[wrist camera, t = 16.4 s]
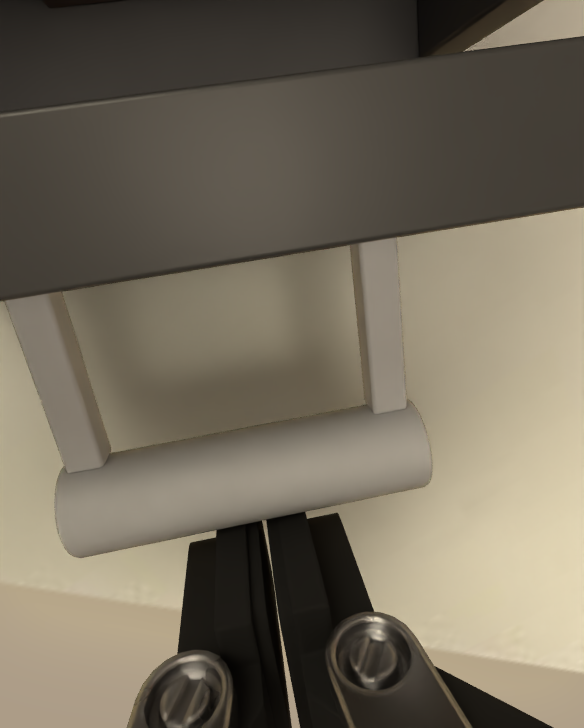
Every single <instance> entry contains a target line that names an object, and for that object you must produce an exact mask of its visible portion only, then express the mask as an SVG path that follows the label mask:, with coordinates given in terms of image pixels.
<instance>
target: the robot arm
mask: <svg viewBox="0 0 584 728" xmlns="http://www.w3.org/2000/svg"><path fill="white" fill-rule="evenodd" d="M266 521H267V529H268V537H269V545H270V553H271V561H272V569H273V576H272V570H271V565H270V560H269V554H268V549H267V544H266V539H265V534H264V529H263V523H262V521H257V522H253V523H248V524H243V525H238V526H233V527H228V528H224V529H219V530H217V534H216V538H211V539H206V540H201V541H196V542H191V543H190V545H189V551H188V560H187V569H186V579H185V588H184V597H183V607H182V616H181V626H180V635H179V644H178V654H177V655H175V656H173V657H171V658H169V659H167V660H166V661H164V662H163V663H162V664H161V665H160V666H158V668H156V669H155V670H154V671H153V672H152V673H151V674H150V676H149V677H148V678H147V679H146V681H145V682H144V683H143V685H142V687H141V689H140V692H139V693H138V696H137V698H136V700H135V703H134V706H133V710H132V712H131V716H130V719H129V722H128V725H127V728H292V726H291V718H290V711H289V702H288V694H287V687H286V679H285V671H284V662H283V655H282V646H281V639H280V630H279V622H278V614H279V620H280V626H281V631H282V636H283V641H284V646H285V652H286V656H287V662H288V667H289V671H290V677H291V682H292V687H293V692H294V697H295V703H296V708H297V713H298V718H299V723H300V728H553V727H551V726H549V725H547V724H545V723H544V722H542V721H539V720H538V719H536V718H534V717H532V716H530V715H528V714H526V713H524V712H522V711H520V710H518V709H517V708H515V707H513V706H511V705H509V704H507V703H505V702H503V701H501V700H499V699H497V698H495V697H493V696H491V695H489V694H488V693H486V692H483V691H482V690H480V689H478V688H476V687H474V686H472V685H470V684H468V683H466V682H464V681H462V680H460V679H458V678H456V677H454V676H453V675H451V674H449V673H447V672H445V671H443V670H441V669H439V668H437V667H435V666H434V665H433V663H432V662H431V660H430V659H429V657H428V655H427V654H426V652H425V651H424V649H423V647H422V646H421V644H420V643H419V641H418V639H417V638H416V636H415V635H414V634H413V633H412V631H411V630H410V629H409V628H408V627H407V626H406V625H405V624H404V623H402V622H401V621H399V620H398V619H396V618H395V617H393V616H390V615H387V614H384V613H381V612H374V610H373V607H372V604H371V602H370V599H369V596H368V593H367V591H366V588H365V585H364V582H363V580H362V577H361V574H360V571H359V568H358V566H357V563H356V560H355V557H354V555H353V552H352V549H351V546H350V544H349V541H348V538H347V535H346V533H345V530H344V527H343V524H342V522H341V519H340V516H339V514H338V513H334V514H329V515H324V516H319V517H314V518H309V519H307V517H306V513H305V512H301V513H296V514H291V515H286V516H282V517H277V518H272V519H267V520H266ZM273 577H274V583H273ZM274 584H275V590H274ZM275 592H276V598H275ZM276 600H277V606H276ZM277 607H278V614H277Z"/></svg>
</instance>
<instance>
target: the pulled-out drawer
mask: <svg viewBox="0 0 584 728" xmlns="http://www.w3.org/2000/svg"><path fill="white" fill-rule="evenodd" d="M542 1H543V0H116V1H108V2H99V3H90V4H81V5H72V6H63V7H54V8H50V7H48V6H47V5H46V4H45V3H44V1H43V0H0V301H5V304H6V307H7V309H8V312H9V315H10V318H11V320H12V323H13V326H14V329H15V331H16V334H17V337H18V340H19V342H20V345H21V348H22V351H23V353H24V356H25V359H26V362H27V364H28V367H29V370H30V373H31V375H32V378H33V381H34V384H35V386H36V389H37V392H38V395H39V397H40V400H41V403H42V406H43V408H44V411H45V414H46V417H47V419H48V422H49V425H50V428H51V430H52V433H53V436H54V439H55V441H56V444H57V447H58V450H59V452H60V455H61V458H62V461H63V463H64V467H63V468H62V470H61V471H60V473H59V476H58V479H57V483H56V488H55V499H54V508H55V519H56V525H57V530H58V533H59V536H60V539H61V542H62V544H63V546H64V548H65V549H66V550H67V552H68V553H69V554H70V555H72V556H74V557H78V558H84V557H89V556H93V555H98V554H103V553H108V552H113V551H118V550H122V549H127V548H132V547H137V546H142V545H146V544H151V543H156V542H161V541H166V540H171V539H175V538H180V537H185V536H190V535H195V534H200V533H204V532H209V531H214V530H219V529H224V528H228V527H233V526H238V525H243V524H248V523H253V522H257V521H262V520H267V519H272V518H277V517H282V516H286V515H291V514H296V513H301V512H306V511H310V510H315V509H320V508H325V507H330V506H335V505H339V504H344V503H349V502H354V501H359V500H364V499H368V498H373V497H378V496H383V495H388V494H392V493H397V492H402V491H407V490H412V489H417V488H421V487H425V486H426V485H427V484H428V483H429V482H430V480H431V476H432V454H431V448H430V443H429V438H428V435H427V431H426V428H425V425H424V423H423V420H422V418H421V416H420V414H419V412H418V410H417V408H416V407H415V405H414V404H413V403H412V402H411V401H410V400H408V399H406V383H405V366H404V350H403V333H402V316H401V299H400V283H399V266H398V249H397V237H403V236H409V235H415V234H422V233H428V232H434V231H440V230H446V229H453V228H459V227H465V226H471V225H477V224H483V223H490V222H496V221H502V220H508V219H514V218H521V217H527V216H533V215H539V214H545V213H552V212H558V211H564V210H570V209H576V208H583V207H584V36H581V37H573V38H566V39H558V40H550V41H543V42H535V43H527V44H519V45H512V46H504V47H496V48H488V49H481V50H473V51H465V52H463V51H464V50H466V49H467V48H469V47H470V46H472V45H474V44H475V43H477V42H478V41H480V40H482V39H483V38H485V37H486V36H488V35H489V34H491V33H493V32H494V31H496V30H497V29H499V28H501V27H502V26H504V25H505V24H507V23H508V22H510V21H512V20H513V19H515V18H516V17H518V16H520V15H521V14H523V13H524V12H526V11H527V10H529V9H531V8H532V7H534V6H535V5H537V4H538V3H540V2H542ZM347 245H350V252H351V262H352V273H353V283H354V294H355V304H356V315H357V326H358V336H359V347H360V357H361V368H362V378H363V389H364V400H365V402H366V403H367V404H366V405H361V406H356V407H351V408H345V409H340V410H335V411H330V412H324V413H319V414H314V415H309V416H303V417H298V418H293V419H288V420H282V421H277V422H272V423H267V424H261V425H256V426H251V427H246V428H240V429H235V430H230V431H225V432H219V433H214V434H209V435H204V436H198V437H193V438H188V439H183V440H177V441H172V442H167V443H162V444H156V445H151V446H146V447H141V448H135V449H130V450H125V451H120V452H114V453H110V452H111V446H110V443H109V440H108V436H107V433H106V430H105V427H104V424H103V421H102V418H101V414H100V411H99V408H98V405H97V402H96V399H95V395H94V392H93V389H92V386H91V383H90V380H89V377H88V373H87V370H86V367H85V364H84V361H83V358H82V355H81V351H80V348H79V345H78V342H77V339H76V336H75V333H74V329H73V326H72V323H71V320H70V317H69V314H68V310H67V307H66V304H65V301H64V298H63V295H62V291H68V290H75V289H81V288H87V287H93V286H99V285H106V284H112V283H118V282H124V281H130V280H137V279H143V278H149V277H155V276H161V275H168V274H174V273H180V272H186V271H192V270H198V269H205V268H211V267H217V266H223V265H229V264H236V263H242V262H248V261H254V260H260V259H267V258H273V257H279V256H285V255H291V254H298V253H304V252H310V251H316V250H322V249H329V248H335V247H341V246H347Z"/></svg>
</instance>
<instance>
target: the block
mask: <svg viewBox="0 0 584 728" xmlns="http://www.w3.org/2000/svg"><path fill="white" fill-rule="evenodd" d="M43 1H44V3H45V4H46V5H47V6H48V7H50V8H54V7H63V6H72V5H81V4H90V3H99V2H108V1H116V0H43Z"/></svg>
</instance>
